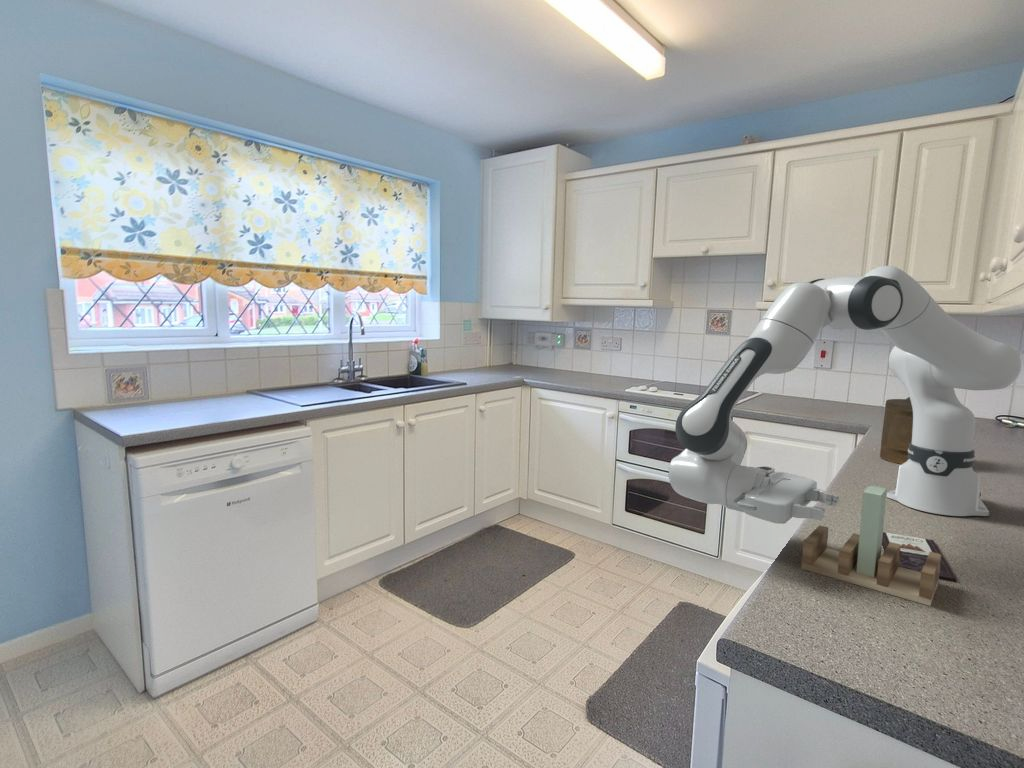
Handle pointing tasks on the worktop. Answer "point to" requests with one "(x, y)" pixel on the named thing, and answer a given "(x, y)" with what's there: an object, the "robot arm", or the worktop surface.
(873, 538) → the tall mint green block
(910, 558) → the chocolate bar
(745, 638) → the worktop surface
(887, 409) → the wooden container
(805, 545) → the rack
